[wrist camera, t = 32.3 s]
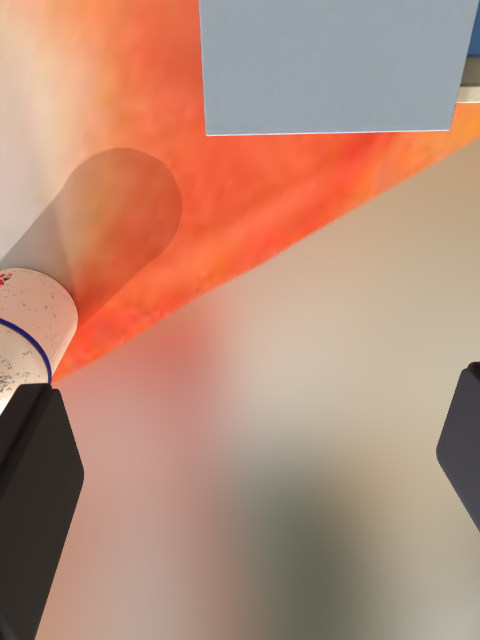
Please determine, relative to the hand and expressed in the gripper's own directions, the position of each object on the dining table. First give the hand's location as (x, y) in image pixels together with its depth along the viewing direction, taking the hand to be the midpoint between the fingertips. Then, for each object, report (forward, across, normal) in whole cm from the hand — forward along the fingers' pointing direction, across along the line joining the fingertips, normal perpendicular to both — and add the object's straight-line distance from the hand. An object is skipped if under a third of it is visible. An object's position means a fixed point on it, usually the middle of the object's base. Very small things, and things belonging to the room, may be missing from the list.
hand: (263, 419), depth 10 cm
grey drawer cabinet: (+26, -6, -10) cm, 29 cm away
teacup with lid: (+26, +19, +12) cm, 35 cm away
